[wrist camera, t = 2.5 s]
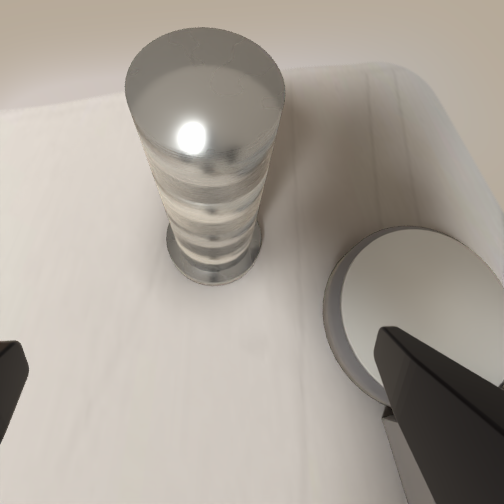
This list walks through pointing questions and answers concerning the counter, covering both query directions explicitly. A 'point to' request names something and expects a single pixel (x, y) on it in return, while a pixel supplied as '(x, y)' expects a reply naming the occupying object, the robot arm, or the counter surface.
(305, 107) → the counter surface
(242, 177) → the disc
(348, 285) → the kitchen scale
